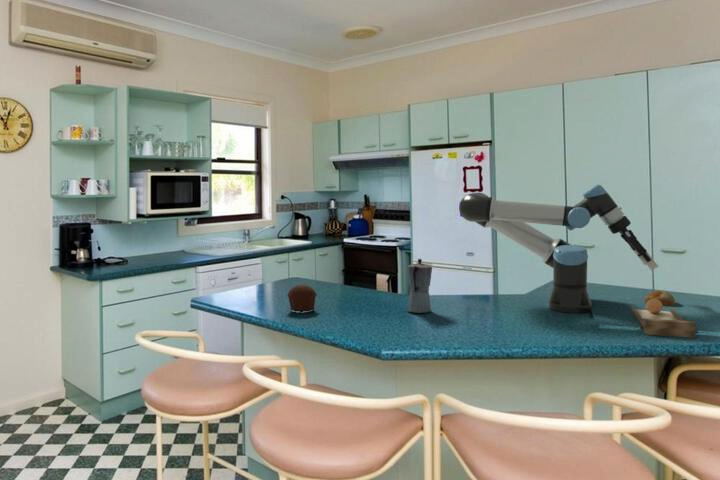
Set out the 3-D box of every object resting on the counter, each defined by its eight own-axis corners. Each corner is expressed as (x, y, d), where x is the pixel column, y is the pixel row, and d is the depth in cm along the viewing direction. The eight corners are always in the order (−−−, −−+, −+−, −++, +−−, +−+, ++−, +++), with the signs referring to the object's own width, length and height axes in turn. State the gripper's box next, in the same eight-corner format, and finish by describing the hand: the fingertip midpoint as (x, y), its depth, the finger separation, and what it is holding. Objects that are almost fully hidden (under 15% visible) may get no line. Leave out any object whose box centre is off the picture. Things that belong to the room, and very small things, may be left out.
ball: (647, 314, 172) (647, 300, 171) (644, 311, 176) (644, 297, 176) (663, 315, 170) (664, 300, 169) (660, 311, 174) (661, 297, 174)
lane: (645, 334, 152) (645, 320, 152) (631, 312, 179) (631, 300, 179) (695, 337, 148) (695, 323, 147) (672, 315, 174) (673, 302, 174)
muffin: (323, 309, 195) (322, 284, 194) (305, 315, 185) (304, 289, 185) (300, 306, 201) (299, 282, 200) (281, 312, 192) (280, 286, 191)
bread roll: (674, 319, 183) (685, 300, 182) (647, 307, 184) (658, 287, 183) (663, 312, 193) (674, 294, 191) (638, 301, 194) (648, 283, 193)
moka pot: (434, 307, 194) (434, 256, 192) (429, 317, 179) (428, 262, 177) (410, 306, 196) (409, 256, 195) (403, 316, 182) (402, 262, 180)
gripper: (629, 216, 178) (668, 264, 175) (620, 213, 201) (654, 256, 198) (610, 228, 181) (648, 276, 178) (603, 224, 204) (636, 266, 201)
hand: (651, 265), depth 188 cm, fingers open, 13 cm apart
